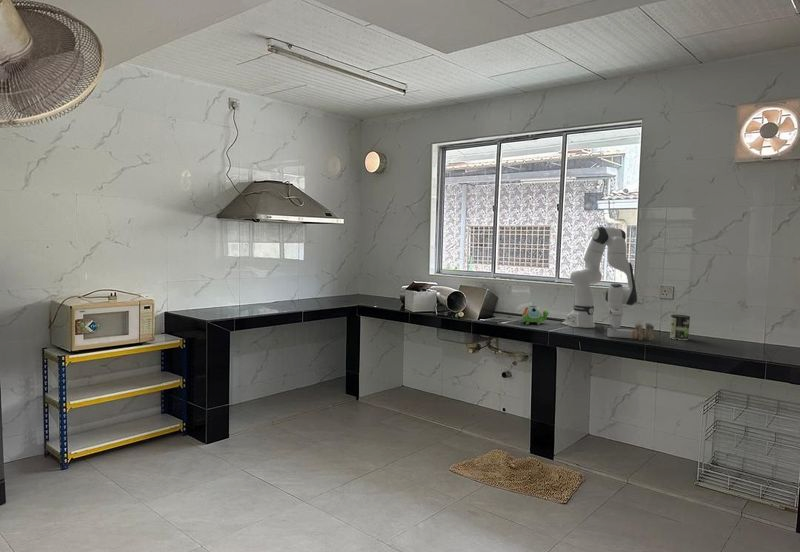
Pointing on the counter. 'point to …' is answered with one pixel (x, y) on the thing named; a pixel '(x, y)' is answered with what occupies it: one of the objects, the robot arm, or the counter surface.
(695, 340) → the counter surface
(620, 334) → the tube
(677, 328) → the coffee can
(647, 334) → the collar
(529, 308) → the turtle holder
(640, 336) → the collar
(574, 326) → the robot arm
